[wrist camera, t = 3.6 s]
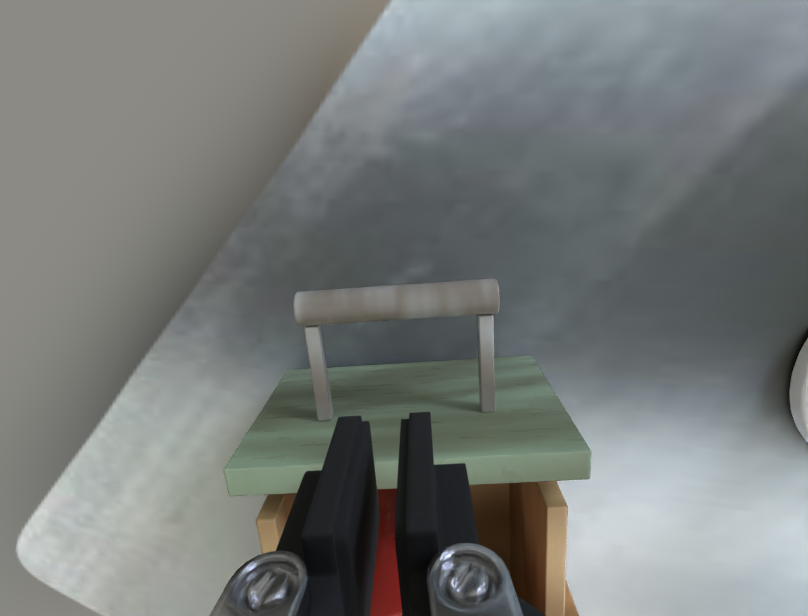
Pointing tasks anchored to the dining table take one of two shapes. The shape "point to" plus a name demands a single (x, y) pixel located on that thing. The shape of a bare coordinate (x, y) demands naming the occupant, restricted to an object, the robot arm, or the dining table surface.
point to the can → (386, 560)
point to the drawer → (450, 421)
